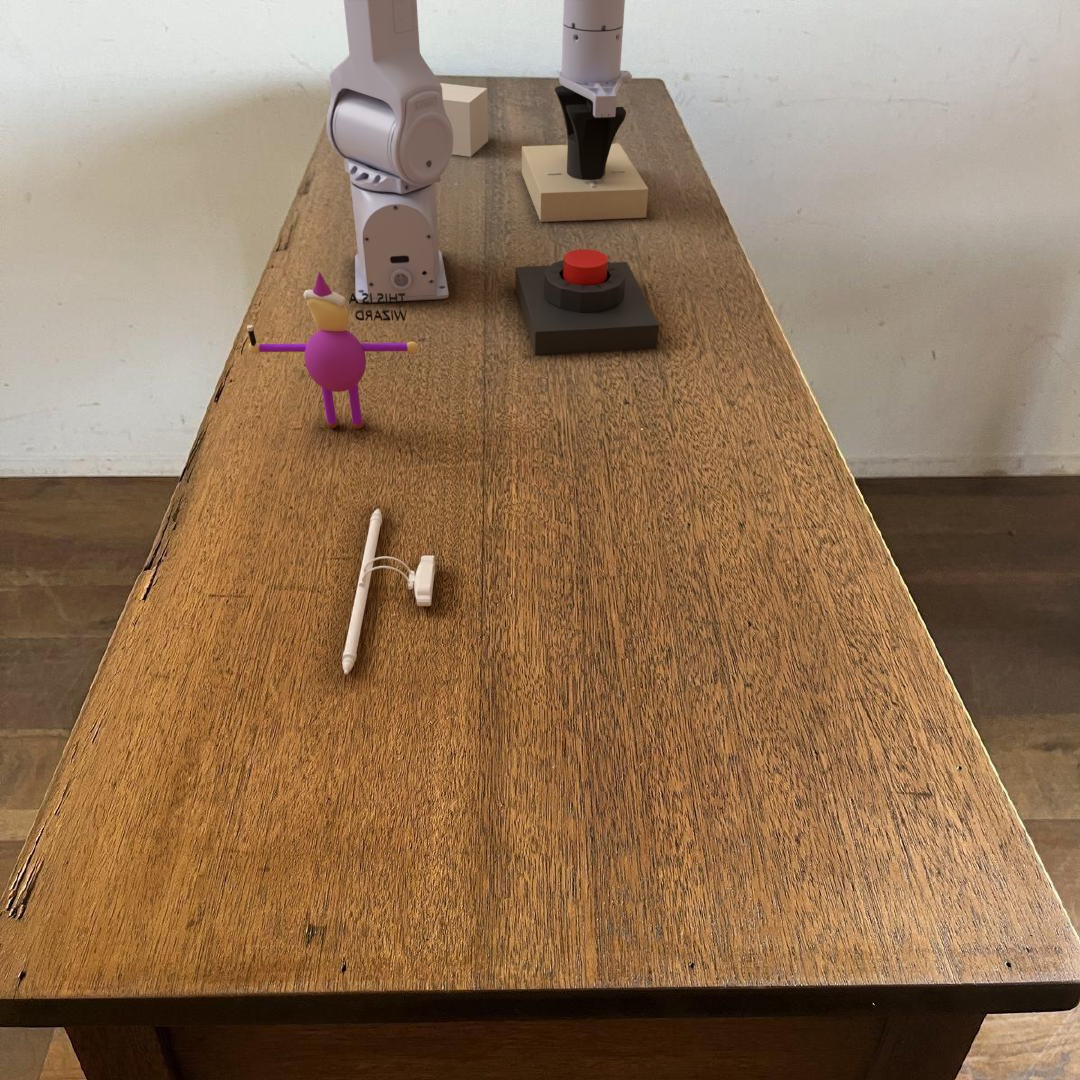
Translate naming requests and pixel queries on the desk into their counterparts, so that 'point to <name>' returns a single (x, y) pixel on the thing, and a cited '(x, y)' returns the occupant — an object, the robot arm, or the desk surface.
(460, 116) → the beige cube
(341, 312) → the wizard figurine
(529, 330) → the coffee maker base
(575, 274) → the power button
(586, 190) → the panel
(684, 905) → the desk surface
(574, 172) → the warmer dial
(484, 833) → the desk surface
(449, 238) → the desk surface
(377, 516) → the picture light
